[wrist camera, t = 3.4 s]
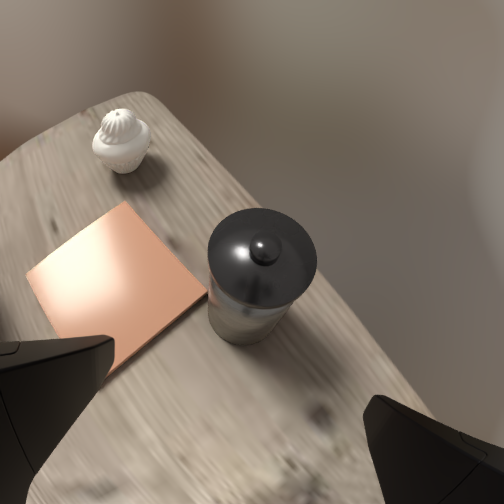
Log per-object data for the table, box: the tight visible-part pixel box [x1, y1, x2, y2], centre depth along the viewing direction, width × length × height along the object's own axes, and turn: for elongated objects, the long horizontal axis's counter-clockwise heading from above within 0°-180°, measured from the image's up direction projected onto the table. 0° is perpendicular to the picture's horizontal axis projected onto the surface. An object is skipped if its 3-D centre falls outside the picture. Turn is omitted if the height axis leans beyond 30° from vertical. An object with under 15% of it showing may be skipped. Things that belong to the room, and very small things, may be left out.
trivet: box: [26, 201, 208, 377], centre depth 23 cm, size 12×12×1 cm
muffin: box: [93, 109, 151, 174], centre depth 27 cm, size 6×6×7 cm
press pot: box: [208, 208, 317, 345], centre depth 20 cm, size 6×6×10 cm
